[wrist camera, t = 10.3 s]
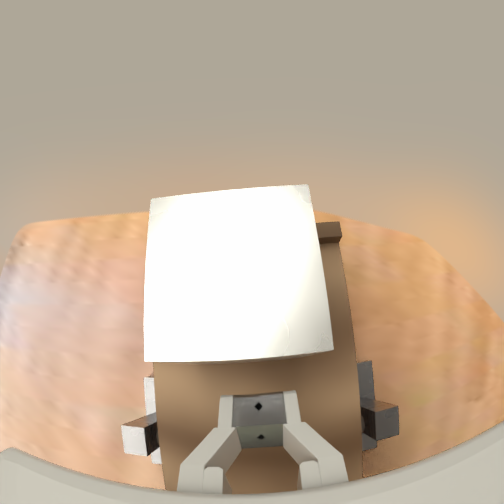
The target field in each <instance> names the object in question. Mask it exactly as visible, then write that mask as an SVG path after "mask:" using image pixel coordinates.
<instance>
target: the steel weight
mask: <svg viewBox="0 0 504 504" xmlns="http://www.w3.org/2000/svg"><path fill="white" fill-rule="evenodd" d="M331 350H334V347H333V338H332V329H331V321H330V313H329V305H328V298H327V291H326V284H325V277H324V271H323V264H322V258H321V252H320V246H319V240H318V235H317V229H316V223H315V218H314V213H313V207H312V203H311V197H310V192H309V187H308V185H292V186H276V187H261V188H248V189H237V190H225V191H215V192H205V193H196V194H187V195H178V196H171V197H162V198H155V199H151V205H150V215H149V225H148V237H147V251H146V268H145V294H144V357H145V361H149V362H162V363H179V364H221V363H240V362H255V361H268V360H279V359H289V358H298V357H304V356H309V355H314V354H318V353H323V352H327V351H331Z"/></svg>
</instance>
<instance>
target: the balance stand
mask: <svg viewBox="0 0 504 504" xmlns="http://www.w3.org/2000/svg"><path fill="white" fill-rule="evenodd" d="M357 371H358V383H359V395H360V409H361V416H362V417H363V419H364V424H365V428H364V431H363V432H362V451H365V450H369V449H373V448H376V447H377V442H376V441H378V440H382V439H385V438H389V437H392V436H396V435H399V414H398V406H396V405H392V404H389V403H385V402H381V401H378V400H375V396H374V383H373V371H372V361H364V362H358V363H357ZM144 390H145V404H146V416H144V417H142V418H139V419H136V420H134V421H131V422H128V423H126V424H123V425H121V428H122V437H123V444H124V451H125V453H128V454H134V455H142V456H148V455H150V454H151V459H152V463H155V464H162V462H161V454H160V446H159V445H158V443H157V431H158V427H157V417H156V405H155V390H154V377H144Z"/></svg>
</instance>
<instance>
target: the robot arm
mask: <svg viewBox="0 0 504 504" xmlns="http://www.w3.org/2000/svg"><path fill="white" fill-rule="evenodd" d="M278 446H283V447H284V449H285V450H286V451H287V452H288V453H289V454H290V455H291V457H292V458H293V459H294V460H295V461H296V462H297V463H298V465H299V474H298V481H297V490H296V491H286V492H275V493H260V494H232V488H231V486H230V484H229V482H228V480H227V477H226V475H225V473H226V472H227V470H228V469H229V468H230V466H231V465H232V463H233V462H234V460H235V459H236V458H237V456H238V455H239V453H240V452H241V449H247V448H261V447H278ZM0 504H504V421H502V422H500V423H499V424H497V425H495V426H493V427H492V428H490V429H488V430H486V431H484V432H483V433H481V434H479V435H477V436H475V437H473V438H471V439H469V440H467V441H465V442H463V443H461V444H459V445H457V446H454V447H452V448H450V449H448V450H445V451H443V452H441V453H438V454H436V455H434V456H431V457H429V458H426V459H423V460H421V461H418V462H415V463H412V464H410V465H407V466H404V467H401V468H398V469H394V470H391V471H388V472H385V473H381V474H378V475H374V476H370V477H366V478H362V479H358V480H354V481H349V480H348V476H347V472H346V467H345V463H344V459H343V455H342V454H341V453H340V452H339V451H337V450H336V449H335V448H334V447H333V446H332V445H331V444H329V443H328V442H327V441H326V440H325V439H324V438H323V437H321V436H320V435H319V434H318V433H317V432H316V431H315V430H314V429H312V428H311V427H310V426H309V425H308V424H307V423H306V422H301V416H300V410H299V404H298V399H297V393H296V391H295V390H292V391H280V392H271V393H259V394H248V395H221V397H220V403H219V417H218V428H213V430H212V431H211V432H210V433H209V434H208V435H207V436H206V437H205V438H204V440H203V441H202V442H201V443H200V444H199V445H198V446H197V447H196V448H195V449H194V451H193V452H192V453H191V454H190V455H189V456H188V457H187V458H186V459H185V460H184V461H183V462H182V463H181V464H180V471H179V478H178V485H177V491H169V490H161V489H154V488H147V487H141V486H135V485H130V484H125V483H120V482H116V481H111V480H107V479H103V478H99V477H95V476H92V475H88V474H84V473H81V472H78V471H75V470H71V469H68V468H65V467H62V466H59V465H57V464H54V463H51V462H48V461H46V460H43V459H41V458H38V457H36V456H33V455H31V454H28V453H26V452H24V451H22V450H20V449H17V448H14V447H11V448H8V449H5V450H4V451H2V452H0Z"/></svg>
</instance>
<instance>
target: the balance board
mask: <svg viewBox="0 0 504 504" xmlns="http://www.w3.org/2000/svg"><path fill="white" fill-rule="evenodd" d="M316 229H317V235H318V240H319V246H320V252H321V258H322V264H323V271H324V277H325V284H326V291H327V298H328V305H329V313H330V321H331V329H332V338H333V347H334V350H331V351H327V352H323V353H318V354H314V355H309V356H304V357H298V358H289V359H279V360H268V361H255V362H240V363H221V364H179V363H162V362H153V372H154V390H155V405H156V417H157V427H158V431H157V443H158V445H159V446H160V454H161V462H162V469H163V476H164V482H165V488H166V490H169V491H177V485H178V478H179V471H180V464H181V463H182V462H183V461H184V460H185V459H186V458H187V457H188V456H189V455H190V454H191V453H192V452H193V451H194V449H195V448H196V447H197V446H198V445H199V444H200V443H201V442H202V441H203V440H204V438H205V437H206V436H207V435H208V434H209V433H210V432H211V431H212V430H213V428H218V417H219V403H220V397H221V395H248V394H259V393H271V392H280V391H292V390H295V391H296V393H297V399H298V404H299V410H300V416H301V422H306V423H307V424H308V425H309V426H310V427H311V428H312V429H314V430H315V431H316V432H317V433H318V434H319V435H320V436H321V437H323V438H324V439H325V440H326V441H327V442H328V443H329V444H331V445H332V446H333V447H334V448H335V449H336V450H337V451H339V452H340V453H341V454H342V455H343V459H344V463H345V467H346V472H347V476H348V480H349V481H354V480H358V479H362V478H363V463H362V432H363V431H364V428H365V424H364V419H363V417H362V416H361V409H360V395H359V383H358V371H357V361H356V352H355V343H354V335H353V327H352V320H351V313H350V306H349V299H348V293H347V286H346V280H345V274H344V269H343V263H342V258H341V252H340V247H339V241H340V239H341V237H342V232H341V227H340V223H339V222H325V223H316ZM298 474H299V465H298V463H297V462H296V461H295V460H294V459H293V458H292V457H291V455H290V454H289V453H288V452H287V451H286V450H285V449H284V447H283V446H278V447H261V448H247V449H241V452H240V453H239V455H238V456H237V458H236V459H235V460H234V462H233V463H232V465H231V466H230V468H229V469H228V470H227V472H226V473H225V475H226V477H227V480H228V482H229V484H230V486H231V488H232V494H260V493H275V492H286V491H296V490H297V481H298Z"/></svg>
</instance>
